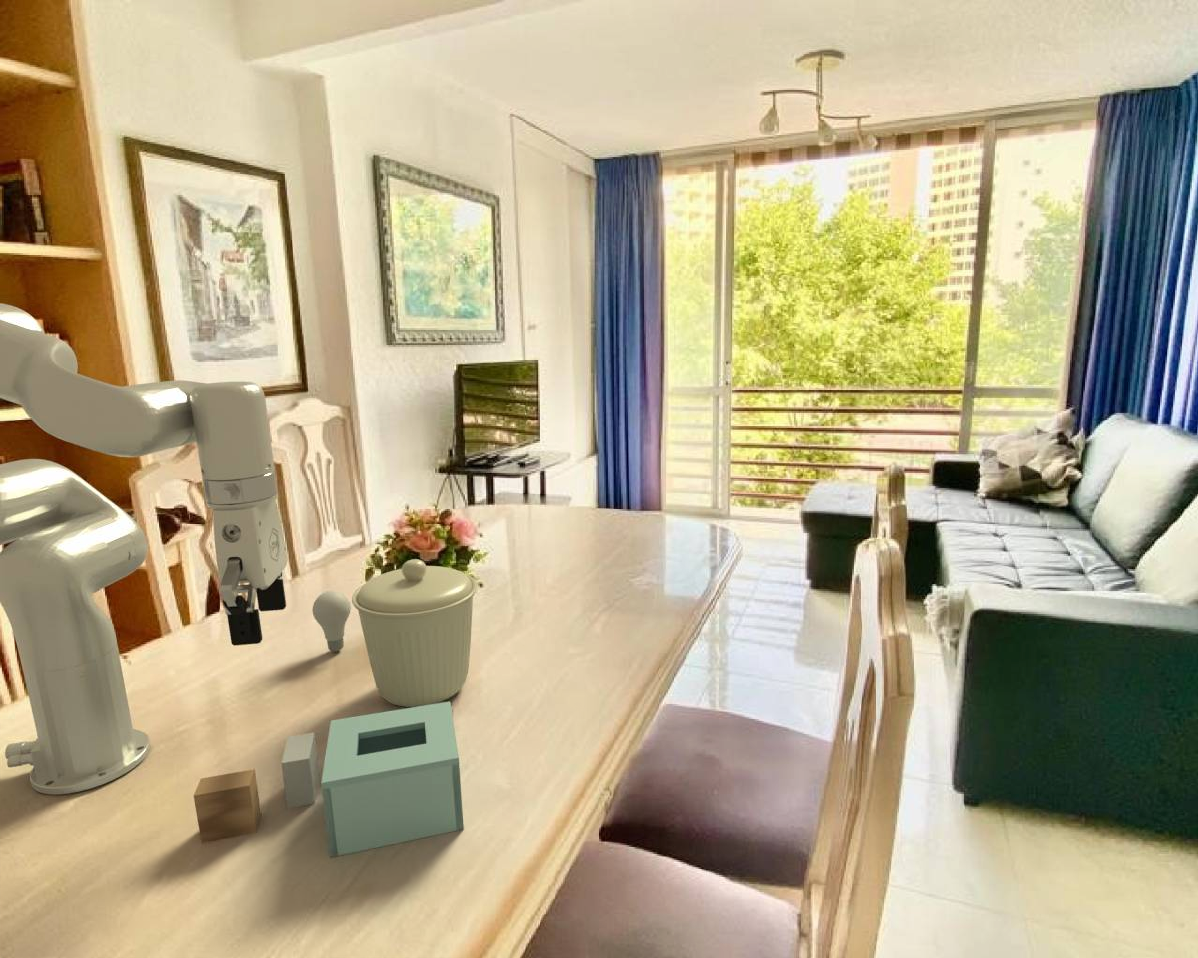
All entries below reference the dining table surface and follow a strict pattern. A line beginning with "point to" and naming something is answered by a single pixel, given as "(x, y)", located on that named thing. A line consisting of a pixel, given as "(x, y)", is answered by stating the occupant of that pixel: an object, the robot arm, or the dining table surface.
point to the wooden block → (227, 805)
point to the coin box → (391, 778)
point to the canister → (417, 631)
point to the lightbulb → (332, 617)
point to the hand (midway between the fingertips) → (260, 625)
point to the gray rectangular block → (300, 770)
